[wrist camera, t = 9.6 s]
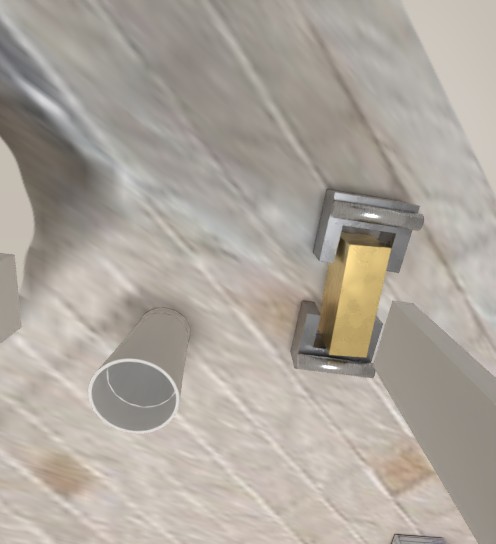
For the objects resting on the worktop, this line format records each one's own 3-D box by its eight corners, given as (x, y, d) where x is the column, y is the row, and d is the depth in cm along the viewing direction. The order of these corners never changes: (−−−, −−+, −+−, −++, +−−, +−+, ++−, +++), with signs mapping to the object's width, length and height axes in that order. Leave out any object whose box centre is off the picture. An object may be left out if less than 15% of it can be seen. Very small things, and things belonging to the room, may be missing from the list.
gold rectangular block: (333, 231, 38) (349, 244, 32) (369, 234, 38) (391, 248, 32) (317, 327, 42) (329, 354, 36) (349, 330, 42) (366, 357, 36)
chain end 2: (302, 300, 40) (309, 320, 35) (371, 310, 41) (388, 331, 36) (290, 351, 42) (296, 376, 38) (356, 360, 43) (370, 386, 38)
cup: (206, 316, 41) (192, 377, 29) (183, 368, 43) (162, 444, 32) (143, 291, 40) (102, 345, 28) (122, 346, 42) (77, 417, 31)
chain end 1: (326, 189, 36) (339, 194, 31) (404, 201, 37) (428, 208, 32) (312, 252, 38) (322, 265, 34) (385, 262, 39) (405, 278, 34)
